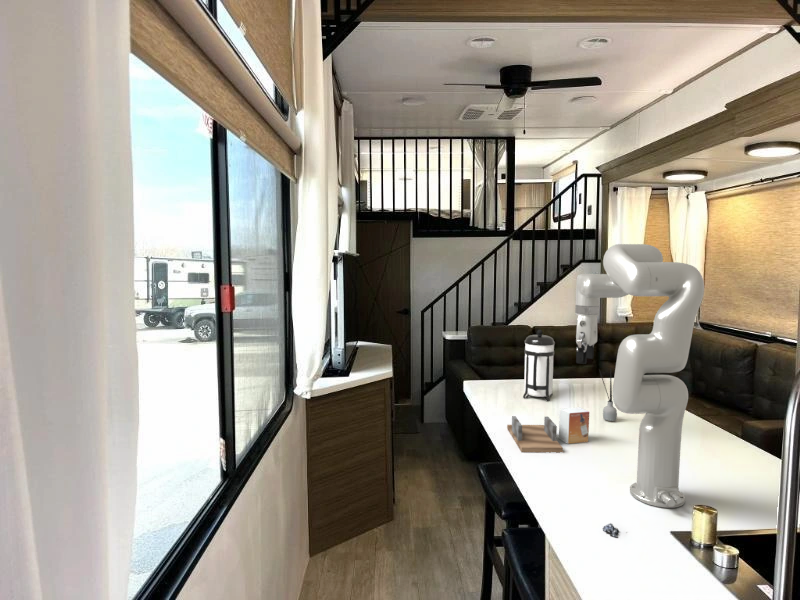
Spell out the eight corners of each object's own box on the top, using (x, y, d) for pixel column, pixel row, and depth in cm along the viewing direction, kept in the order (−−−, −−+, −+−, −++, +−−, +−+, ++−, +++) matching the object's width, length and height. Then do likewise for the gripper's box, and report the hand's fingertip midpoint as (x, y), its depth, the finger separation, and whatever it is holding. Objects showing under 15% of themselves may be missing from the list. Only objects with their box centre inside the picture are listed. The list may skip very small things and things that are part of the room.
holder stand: (562, 452, 158) (563, 432, 158) (521, 452, 158) (521, 432, 158) (543, 429, 180) (544, 411, 180) (507, 428, 180) (507, 410, 180)
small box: (567, 444, 165) (568, 413, 165) (558, 438, 171) (559, 408, 170) (588, 442, 168) (590, 411, 167) (578, 436, 173) (579, 406, 172)
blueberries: (622, 527, 116) (622, 518, 116) (636, 543, 108) (636, 534, 108) (592, 526, 117) (592, 518, 117) (604, 542, 109) (604, 533, 109)
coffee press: (512, 394, 227) (513, 328, 224) (542, 391, 232) (544, 326, 229) (533, 404, 210) (535, 333, 208) (566, 401, 215) (568, 332, 213)
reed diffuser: (616, 425, 185) (619, 371, 183) (596, 422, 188) (598, 369, 186) (616, 417, 194) (618, 366, 193) (597, 415, 197) (599, 364, 195)
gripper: (592, 314, 159) (590, 367, 161) (604, 309, 173) (602, 357, 175) (568, 312, 163) (566, 364, 165) (582, 307, 178) (579, 355, 179)
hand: (584, 360), depth 170 cm, fingers open, 9 cm apart
